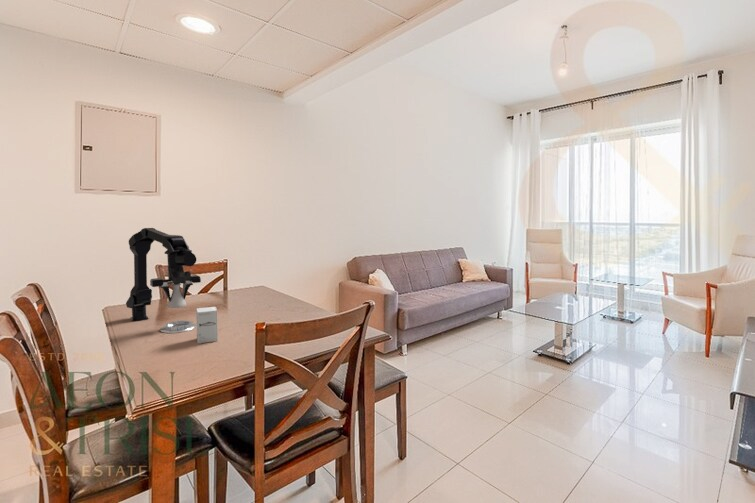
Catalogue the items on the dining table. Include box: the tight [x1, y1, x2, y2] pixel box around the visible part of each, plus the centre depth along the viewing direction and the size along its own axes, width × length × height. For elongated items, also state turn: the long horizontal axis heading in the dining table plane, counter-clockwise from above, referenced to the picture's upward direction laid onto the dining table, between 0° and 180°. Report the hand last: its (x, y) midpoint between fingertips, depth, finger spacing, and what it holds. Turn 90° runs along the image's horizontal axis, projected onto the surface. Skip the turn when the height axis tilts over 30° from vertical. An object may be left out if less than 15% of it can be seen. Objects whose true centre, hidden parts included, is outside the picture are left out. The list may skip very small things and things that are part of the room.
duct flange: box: [159, 319, 197, 334], centre depth 164 cm, size 14×14×2 cm
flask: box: [167, 283, 188, 309], centre depth 163 cm, size 7×7×10 cm
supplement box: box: [195, 306, 219, 344], centre depth 149 cm, size 7×7×13 cm
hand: (176, 300), depth 163 cm, fingers closed on flask, 5 cm apart
